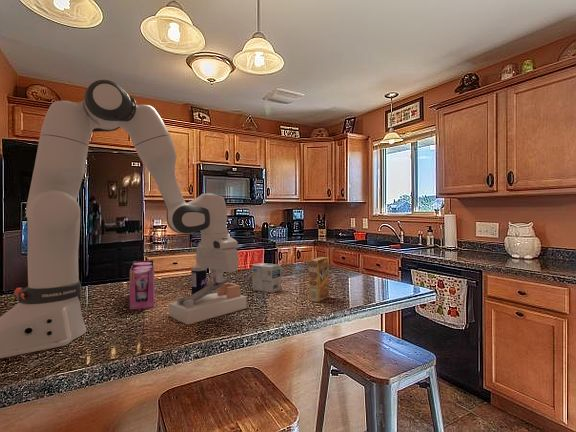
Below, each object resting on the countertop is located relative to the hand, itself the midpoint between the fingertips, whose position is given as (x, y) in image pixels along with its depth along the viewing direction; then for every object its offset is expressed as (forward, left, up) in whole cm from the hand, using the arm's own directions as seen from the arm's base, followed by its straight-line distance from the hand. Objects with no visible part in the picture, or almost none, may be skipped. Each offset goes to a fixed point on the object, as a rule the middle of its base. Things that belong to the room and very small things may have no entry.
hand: (217, 282), depth 110 cm
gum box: (-12, +31, -10) cm, 34 cm away
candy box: (+34, -17, -10) cm, 39 cm away
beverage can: (+4, +18, -10) cm, 21 cm away
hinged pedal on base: (-3, 0, -9) cm, 10 cm away
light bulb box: (+30, +8, -10) cm, 32 cm away
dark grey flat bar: (-4, 0, -3) cm, 5 cm away
